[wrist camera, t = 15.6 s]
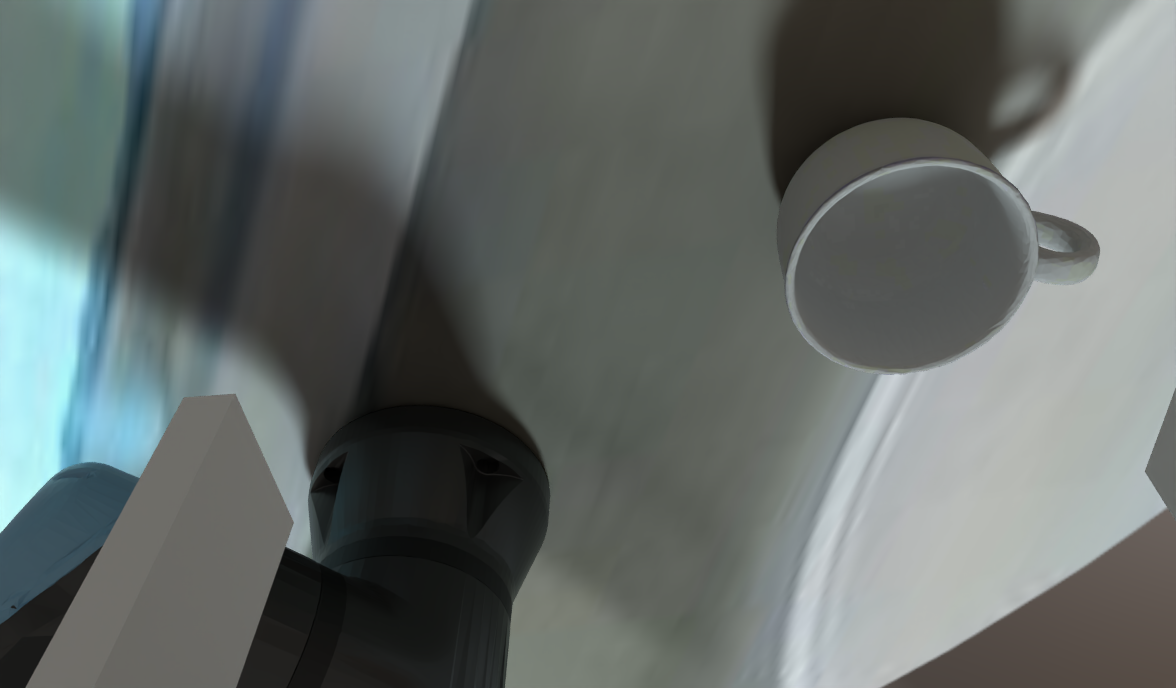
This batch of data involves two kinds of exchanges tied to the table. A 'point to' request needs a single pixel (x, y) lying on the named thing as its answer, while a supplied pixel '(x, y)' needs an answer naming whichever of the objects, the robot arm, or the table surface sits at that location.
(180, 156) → the table surface
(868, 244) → the teacup
